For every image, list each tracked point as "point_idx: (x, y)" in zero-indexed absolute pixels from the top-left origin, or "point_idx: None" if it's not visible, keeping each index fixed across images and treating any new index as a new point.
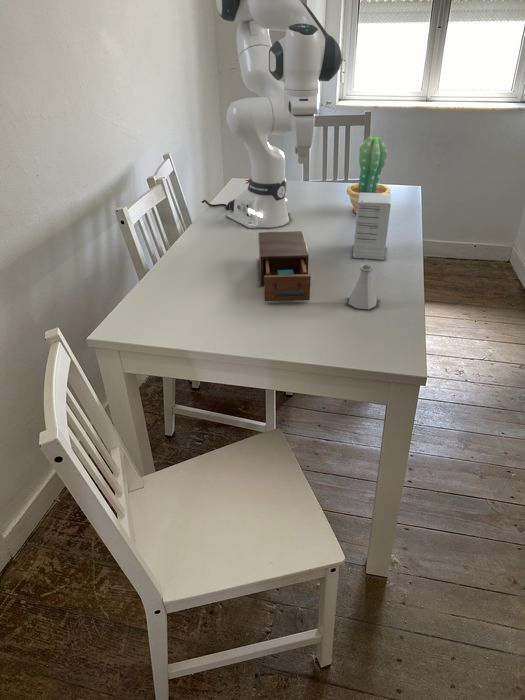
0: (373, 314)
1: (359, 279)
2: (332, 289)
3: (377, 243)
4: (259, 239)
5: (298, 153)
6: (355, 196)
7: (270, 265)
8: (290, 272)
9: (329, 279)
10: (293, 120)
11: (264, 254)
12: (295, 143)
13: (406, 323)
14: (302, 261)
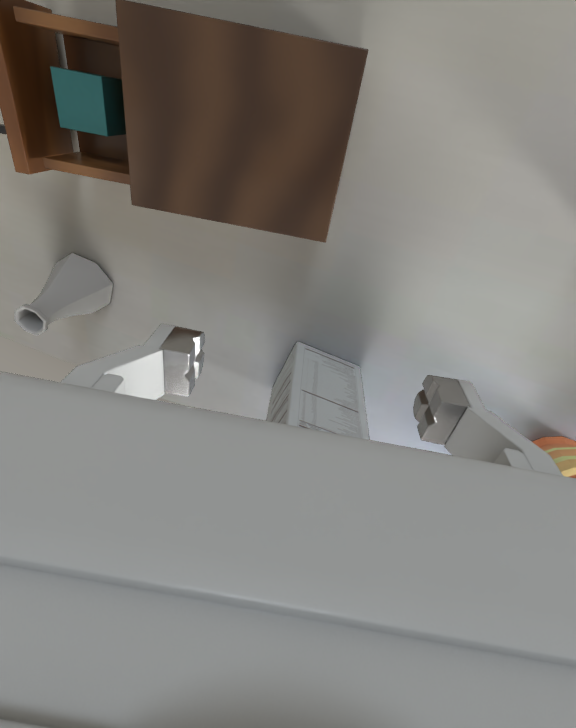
0: (41, 286)
1: (42, 294)
2: (144, 242)
3: (272, 401)
4: (288, 35)
5: (111, 355)
6: (559, 465)
7: None
8: (85, 122)
9: (195, 252)
10: (556, 663)
11: (134, 24)
12: (78, 388)
13: (19, 326)
14: (119, 177)
